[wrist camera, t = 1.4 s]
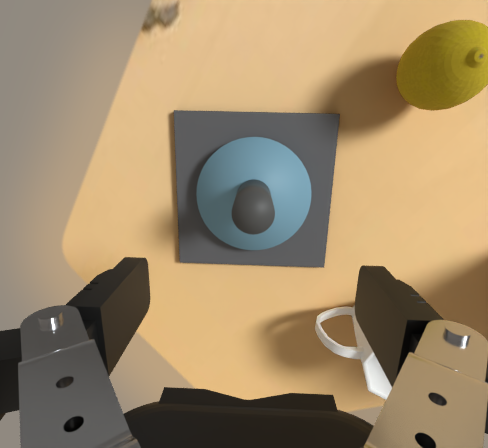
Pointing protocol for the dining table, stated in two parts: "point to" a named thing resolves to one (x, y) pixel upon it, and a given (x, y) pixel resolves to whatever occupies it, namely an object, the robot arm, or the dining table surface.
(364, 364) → the cup
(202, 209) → the lid
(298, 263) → the mat
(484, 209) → the dining table surface
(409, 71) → the lemon
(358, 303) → the robot arm
